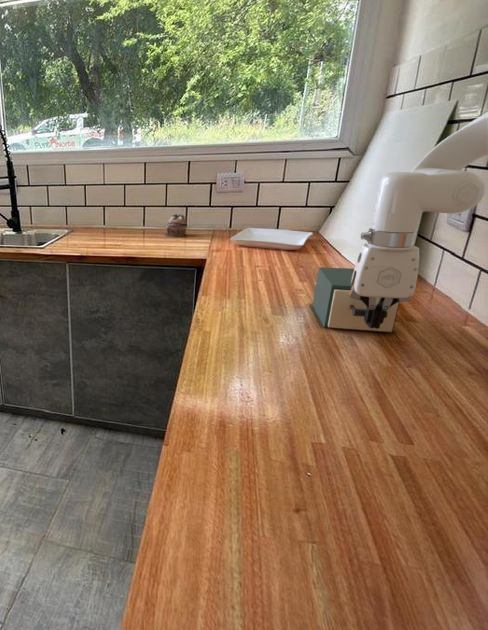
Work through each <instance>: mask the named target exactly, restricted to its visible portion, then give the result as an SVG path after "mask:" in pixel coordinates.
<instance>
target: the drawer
mask: <svg viewBox="0 0 488 630" xmlns="http://www.w3.org/2000/svg"><path fill="white" fill-rule="evenodd" d="M350 290H351V289H334V293H333V298H332V304H331V309H330V315H329V320H328V327H332V328H331V329H335V328H346V329H345V330H348V329H359V330H358V331H361V330H372V331H371V332H374V331H385V332H384V333H388V332H392V328H393V324H394V320H395V316H396V312H397V308H398V309H399V307H398V304H399V305H400V303H399V302H397V303H396V304H394V305H393V306H391V307H390V308H389V309H388V310H387V311H386V312H385V316H384V320H383V323H382V324H380V328H379V329H376V328H369V326H368V325H367V324H366V323H365V321H364V317H365V312H366V308H367V306H366V305H365V304H364V303H363V302H362V301H360V300H356V299H352V298H350V297H349V295H348V294H349V292H350ZM379 299H380V297H376V306H377V304H378V302H379ZM397 313H398V312H397ZM396 317H397V316H396ZM395 321H396V320H395ZM394 325H395V324H394ZM393 329H394V328H393ZM392 333H393V332H392Z"/></svg>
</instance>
